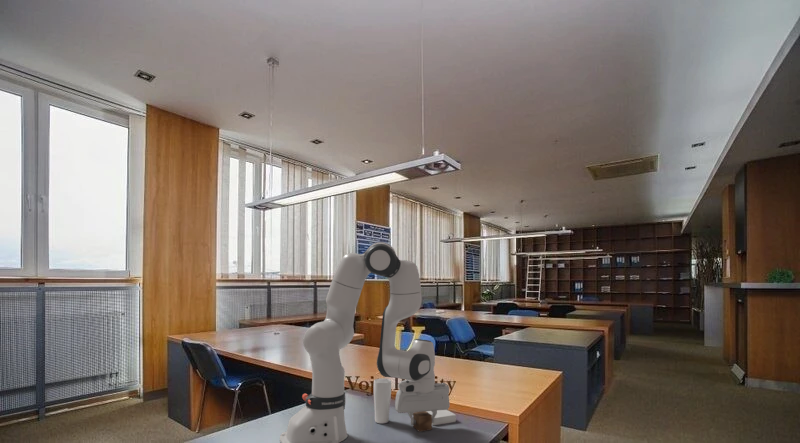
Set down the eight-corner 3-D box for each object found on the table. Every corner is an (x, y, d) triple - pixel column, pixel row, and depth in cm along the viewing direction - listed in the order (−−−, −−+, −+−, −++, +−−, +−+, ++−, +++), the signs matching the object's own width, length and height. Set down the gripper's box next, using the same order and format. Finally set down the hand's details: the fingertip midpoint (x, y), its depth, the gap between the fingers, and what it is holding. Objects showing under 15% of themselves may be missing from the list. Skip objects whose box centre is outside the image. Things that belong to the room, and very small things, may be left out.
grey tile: (433, 425, 154) (433, 418, 155) (420, 416, 163) (420, 410, 164) (455, 421, 158) (455, 414, 159) (442, 413, 167) (442, 407, 168)
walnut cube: (419, 431, 148) (419, 416, 149) (413, 426, 152) (413, 412, 153) (431, 429, 150) (431, 415, 151) (425, 425, 154) (425, 410, 155)
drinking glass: (388, 425, 153) (389, 383, 155) (370, 423, 155) (371, 382, 157) (392, 419, 160) (393, 378, 162) (375, 417, 161) (376, 377, 163)
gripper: (445, 380, 159) (445, 418, 157) (394, 383, 154) (393, 422, 152) (452, 384, 153) (452, 424, 151) (398, 387, 147) (397, 429, 146)
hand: (422, 423), depth 151 cm, fingers closed on walnut cube, 5 cm apart
